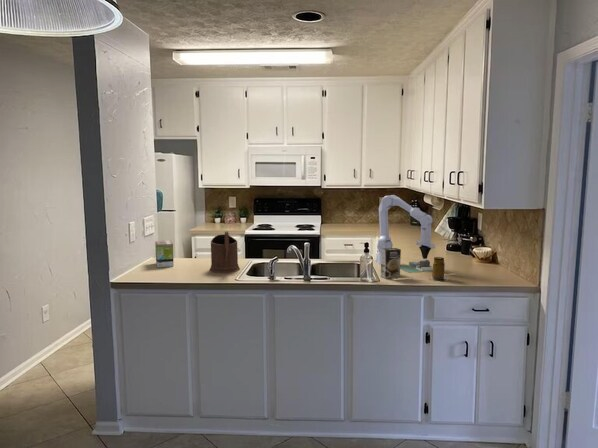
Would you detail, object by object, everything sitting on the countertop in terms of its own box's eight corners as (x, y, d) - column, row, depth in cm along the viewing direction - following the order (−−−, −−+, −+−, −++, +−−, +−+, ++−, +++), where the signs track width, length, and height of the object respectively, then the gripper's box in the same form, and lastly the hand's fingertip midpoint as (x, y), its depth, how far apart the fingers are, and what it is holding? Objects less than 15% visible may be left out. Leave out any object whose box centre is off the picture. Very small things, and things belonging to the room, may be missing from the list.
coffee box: (385, 279, 240) (386, 250, 238) (380, 276, 246) (380, 248, 244) (400, 277, 242) (401, 249, 240) (394, 275, 248) (395, 247, 246)
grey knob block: (409, 265, 269) (409, 261, 269) (418, 264, 271) (419, 260, 271) (415, 267, 262) (415, 263, 262) (425, 266, 264) (425, 262, 264)
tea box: (174, 266, 272) (173, 243, 271) (157, 268, 269) (156, 244, 267) (171, 262, 286) (170, 239, 284) (155, 263, 283) (154, 240, 281)
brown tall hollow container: (237, 265, 276) (236, 226, 273) (244, 273, 253) (243, 231, 250) (207, 267, 270) (206, 227, 267) (212, 276, 248) (210, 232, 244)
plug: (419, 269, 258) (419, 259, 257) (425, 268, 260) (426, 259, 259) (423, 270, 255) (423, 261, 254) (429, 269, 257) (429, 260, 256)
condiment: (435, 276, 244) (436, 255, 243) (450, 279, 239) (450, 258, 237) (429, 279, 239) (430, 257, 237) (444, 282, 233) (444, 260, 232)
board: (394, 268, 266) (394, 263, 265) (420, 266, 271) (420, 261, 271) (409, 274, 249) (409, 269, 249) (436, 272, 255) (436, 267, 254)
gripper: (412, 234, 260) (411, 256, 262) (428, 238, 247) (427, 261, 248) (421, 233, 263) (421, 255, 264) (438, 237, 249) (437, 260, 251)
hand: (424, 258), depth 257 cm, fingers closed
